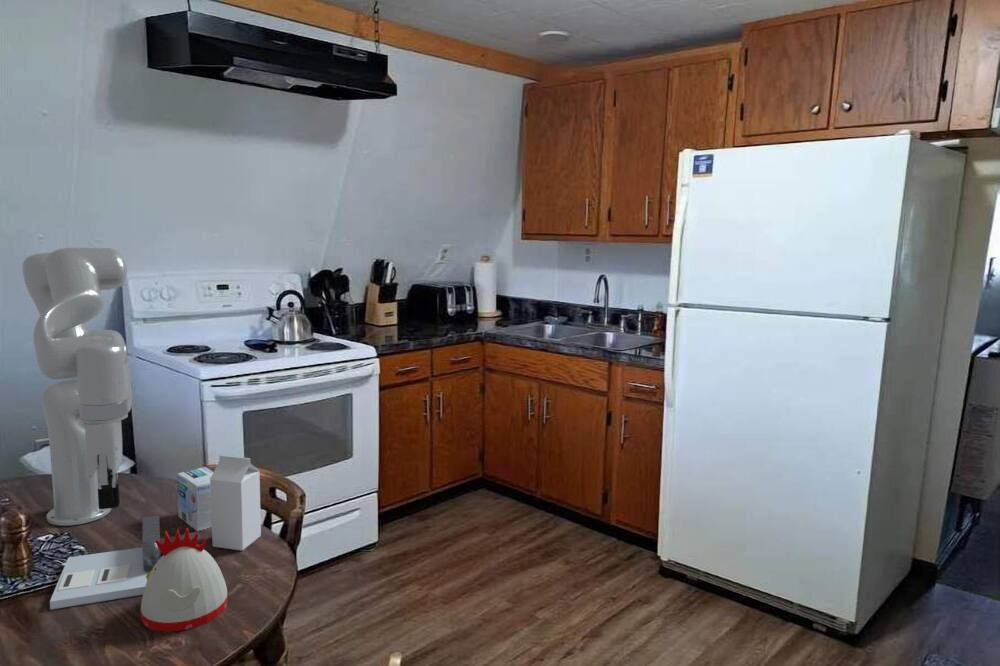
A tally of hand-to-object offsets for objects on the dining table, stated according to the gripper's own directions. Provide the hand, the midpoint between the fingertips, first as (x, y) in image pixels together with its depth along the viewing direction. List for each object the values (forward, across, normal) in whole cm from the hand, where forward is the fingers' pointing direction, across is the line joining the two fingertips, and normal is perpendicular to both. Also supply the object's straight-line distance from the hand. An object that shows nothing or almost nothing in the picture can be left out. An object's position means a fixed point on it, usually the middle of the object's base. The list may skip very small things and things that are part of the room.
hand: (109, 506), depth 125 cm
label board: (+15, -2, -2) cm, 15 cm away
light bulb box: (+15, -24, +15) cm, 32 cm away
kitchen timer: (+15, +14, +13) cm, 24 cm away
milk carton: (+15, -10, +22) cm, 29 cm away
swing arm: (+13, -6, +6) cm, 16 cm away
